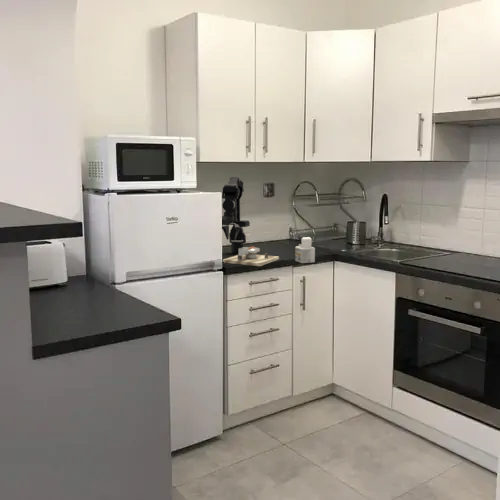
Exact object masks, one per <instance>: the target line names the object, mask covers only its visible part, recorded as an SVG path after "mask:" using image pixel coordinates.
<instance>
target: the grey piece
mask: <svg viewBox="0 0 500 500" xmlns="http://www.w3.org/2000/svg"><path fill="white" fill-rule="evenodd" d="M260 249H261V248H260V247H255V246H249V247H247V246H246V247H245V246H244V247H243V248H239V254H238V255H239V256H244V255H247V254H249V253H259V252H260Z"/></svg>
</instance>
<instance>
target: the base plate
mask: <svg viewBox="0 0 500 500" xmlns="http://www.w3.org/2000/svg"><path fill="white" fill-rule="evenodd" d="M257 253H258V252H257ZM257 253H249V254H247V255H244V256H239V254H235V255H234V256H229V257H227V258H224V259H222V260H223V262H224V263H223V264H234V265H245V266H253V267H254V266H255V267H262V266H264V265H267V264H270V263H272V262H276V261H278V260H280V256H275V255H269V253H268V252H266V253H264V254H257Z"/></svg>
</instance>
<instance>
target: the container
mask: <svg viewBox="0 0 500 500" xmlns="http://www.w3.org/2000/svg"><path fill="white" fill-rule="evenodd" d="M312 240H313V239H312V237H310V236H300V237H299V238H298V245H297V246H295V248H294V249H295V251H294V253H295V256H294V257H295V258H294V261H295V262H298V263H300V264H309V263H310V264H311V263H315V262H316V261H315V260H316V248H315V247H313V246H312Z"/></svg>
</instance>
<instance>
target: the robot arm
mask: <svg viewBox="0 0 500 500" xmlns="http://www.w3.org/2000/svg"><path fill="white" fill-rule="evenodd" d="M221 192H222V193H221V194H222V195H221V199H224V201H223V202H222V209H223V211H224V212H223V215H222V216H221V217H222V228H221V229H222V231H223V234H224V235H225V238H226V240H228V241H229V244H230V245H231V250H230V251H231V252H229V254H231V255H239V248H243V247H245V245H244V244H245V243H247V241H246V240H247V236H246V234H245V232H244V228H247V227H250V221H249V220H245V219H244V220H241V198H242V197H243V194H244V192H245V186H244V182H243V181H242V180H241V179H240V177H237V176H231V177H229V181H228V182H227V183H225V184H224V186H223V187H222V191H221ZM230 226H231V229H230Z"/></svg>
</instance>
